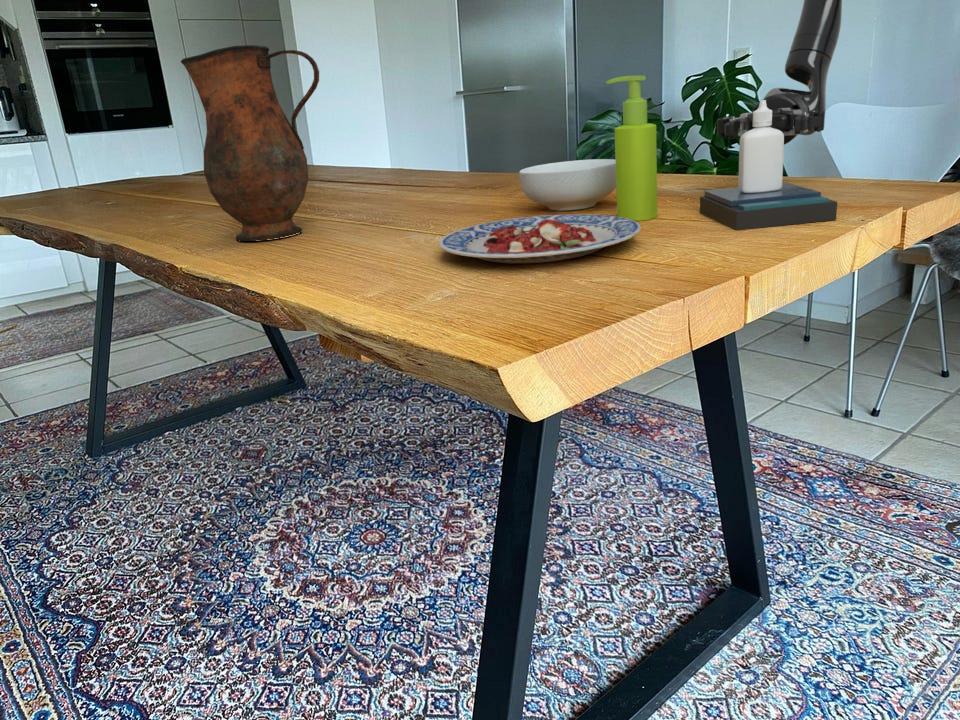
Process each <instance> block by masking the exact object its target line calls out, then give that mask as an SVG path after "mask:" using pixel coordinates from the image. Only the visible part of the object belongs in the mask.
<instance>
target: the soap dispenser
mask: <svg viewBox="0 0 960 720" xmlns="http://www.w3.org/2000/svg"><path fill="white" fill-rule="evenodd" d="M646 77H647V76H646V75H624V76H618V77H614V78H612V79H611V78H610V79H608V80H607V81H605V83H606V85H613V84H617V83H621V82H627V83H628V84H627V86H628V87H627V88H628V89H627V90H628V98H626V99H625V101H622V125H619V126H617V127H615V128H614V152H615V153H614V155H615V158H614V159H615V160H616V188H615V190H616V217H621V218H627V219H630V220H633V221H635V222H640V221H649V220H653V219H656V218H658V167H657V166H658V165H657V164H658V159H657V157H658V155H657V154H658V153H657V150H658V149H657V147H658V146H657V124H656V123H655V124H654V123H650V122H649V123H648V100H647V99H645V98H644V97H642V96H641V95H642V91H641V90H642V89H641V88H642V87H641V86H642V85H641V81H646V80H647V79H646Z"/></svg>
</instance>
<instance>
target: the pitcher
mask: <svg viewBox="0 0 960 720" xmlns="http://www.w3.org/2000/svg"><path fill="white" fill-rule="evenodd" d="M269 52H270V48H269V47H268V46H266V45H255V44H250V45H249V44H244V45H233V46H232V45H231V46H227V47H226V46H225V47H223V48H222V47H221V48H217V49H213V50H209V51H207V52H203V53H200V54H197V55H193V56H188V57H183V58H182V59H181V60H180V63H181V65H183V66H184V68H185V70H186V71H187V73H188V75H189V76H190V79H191V80H192V82H193V84H194V86H195V88H196V89H195V90H196V91H197V93H198V97H199V99H200V102H201V104H202V107H203V110H204V113H205V123H206V124H205V125H206V135H205V141H204V146H203V152H202V153H203V175H204V178H205V181H206V183H207V187H208V189H209V190H208V191H209V193H210V194H211V196H212V197H213V198H214V200H215V201H216V203H217V204H218V206H219V207H220V208H221V210H222V211H224V212H225V213H226V214H228V215H229V216H230V217H231V218H232V219H233V220H235V221H236V222H237V223H239V224H241V225H242V229H241V232H240V233H238V234H237V235H236V237H235V239H237V240H240V241H256V240H267V239H274V238H280V237H285V236H289V235H293V234H296V233H299V232H301V231H302V230H303V228H302V227H301V226H298V225H295V223H294V222H293V217H294V216H295V214H296V213H297V211H298V209H299V208H300V206H301V204H302V202H303V200H304V198H305V195H306V190H307V186H308V182H309V169H308V168H309V167H308V157H307V155H306V153H305V150H304V149H305V147H304V145H303V141H302V139H301V137H300V135H299V133H298V130H297V128H296V120H297V117H298V116H299V114H300V111H301V110H302V109H303V108H304V106H305V105H306V104H307V102H308V101H309V99H310V98H311V97H312V95H313V94H314V92H315V91H316V89H317V88H318V84H319V83H320V70H319V67H318V64H317V62H316V61H315V59H314V58H313V57H312V56H310V55H309V54H308V53H307V52H303V51H301V50H295V49H289V50H287V49H286V50H284V49H283V50H279V51H275V52H272V53H269ZM285 54H286V55H287V54H291V55H292V54H293V55H297V56H301V57H303V58H304V59H306V60H307V61H308V62H309V64H310V65H311V67H312V70H313V80H312V83H311V85H310V87H309V88H308V90H307V92H306V93H305V94H304V96H303V97H302V99H300V100H299V103H297V105H296V107H295V108H294V110H293V113H292V116H291V122H290V121H289V119H288V117H287V115H286V113H285V111H284V110H283V108H282V106H281V104H280V103H279V99H278V97H277V93H276V89H275V85H274V83H273V77H272V72H271V68H272V65H271V59H273V58H274V57H277V56H280V55H285ZM302 232H303V231H302ZM302 232H301V233H302ZM237 240H236V241H237ZM240 241H239V242H240Z"/></svg>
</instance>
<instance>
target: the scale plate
mask: <svg viewBox="0 0 960 720" xmlns="http://www.w3.org/2000/svg"><path fill="white" fill-rule="evenodd" d="M703 196H706V197H708V198H711V199H713V200H715V201H718V202H720V203H723V204H725V205H728V206H730V207H734V206H738V205H740V204H750V203H760V202H769V201H779V200H789V199H799V198H809V197H819V196H822V191H820V190H816V189H813V188H808V187H805V186H800V185H798V184H797V185H796V184H794V183H793V184H792V183H789V182H782V188H781V189H780V190H776V191H770V192H761V193H743V192H740V191H739V189H738V187H737V186H736V187H728V188H717V189H709V190H704V195H703Z"/></svg>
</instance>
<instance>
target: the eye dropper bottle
mask: <svg viewBox="0 0 960 720" xmlns="http://www.w3.org/2000/svg"><path fill="white" fill-rule="evenodd" d="M759 102H760V104H759V108H758V109H757V110H755V111H754V112H753V127H755V128H753V129H752V130H750V131H747V132H746V133H744V134H743V135H742V136H741V137H739V148H738V182H737V183H738V189H739V191H740V192H743V193H761V192H770V191H776V190H780V189H781V188H782V183H783V176H784V175H783V174H784V152H785V151H784V150H785V149H784V148H785V145H784V135H783V133H782V132H781V131H780V130H778V129H774V128H771V127H769V126H771V125H772V110H770V109H768V108H767V105H766V100H763V99H761V100H759Z"/></svg>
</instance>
